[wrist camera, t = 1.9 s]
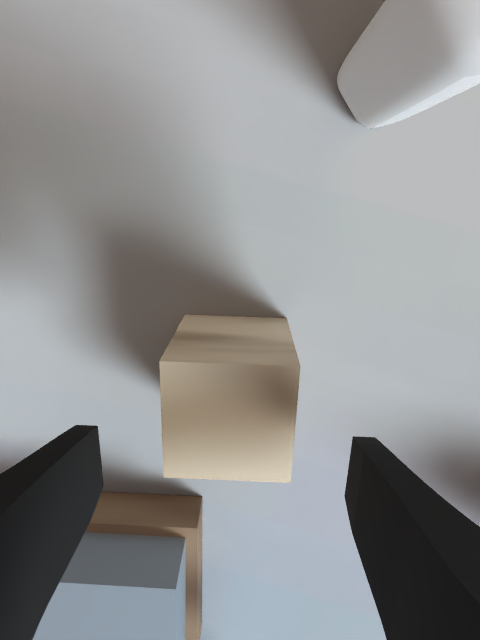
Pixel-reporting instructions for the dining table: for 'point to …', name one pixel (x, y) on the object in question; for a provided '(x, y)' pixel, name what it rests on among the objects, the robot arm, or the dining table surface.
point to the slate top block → (120, 590)
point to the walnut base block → (160, 534)
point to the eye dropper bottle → (411, 59)
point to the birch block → (229, 399)
